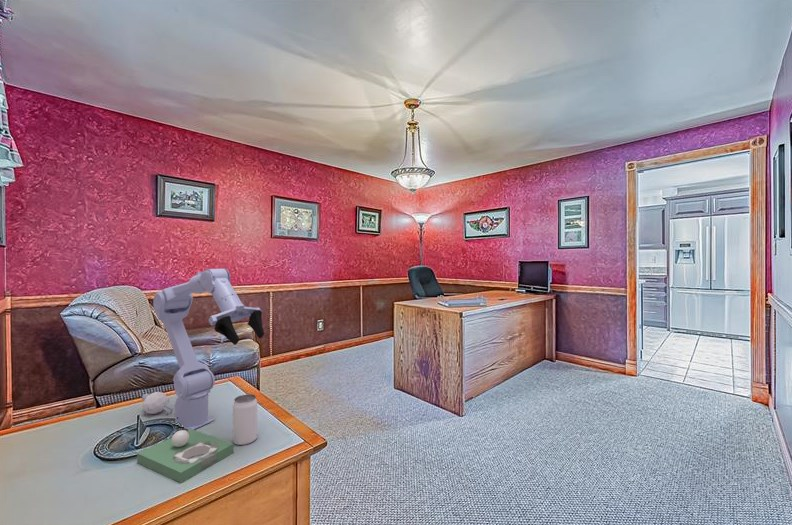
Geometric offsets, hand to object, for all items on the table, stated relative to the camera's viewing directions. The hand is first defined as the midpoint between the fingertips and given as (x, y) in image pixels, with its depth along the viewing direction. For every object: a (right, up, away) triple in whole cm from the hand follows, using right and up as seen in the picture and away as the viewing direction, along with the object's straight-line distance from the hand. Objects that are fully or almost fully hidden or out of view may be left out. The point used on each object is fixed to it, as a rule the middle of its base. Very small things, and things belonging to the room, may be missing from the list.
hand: (249, 339), depth 94 cm
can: (-3, -30, +5) cm, 31 cm away
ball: (-17, -25, -3) cm, 31 cm away
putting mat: (-15, -30, -4) cm, 34 cm away
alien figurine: (-41, -30, +22) cm, 55 cm away
